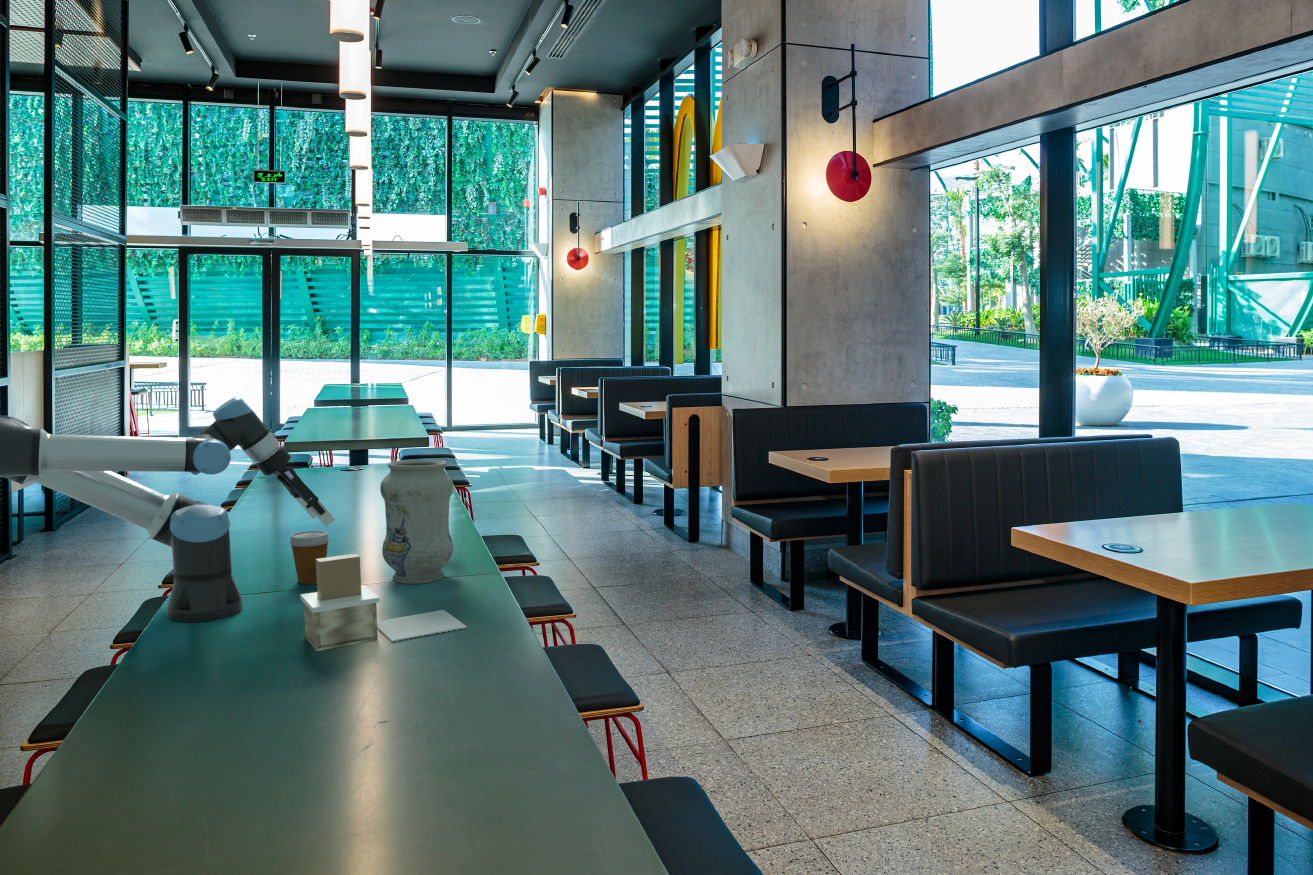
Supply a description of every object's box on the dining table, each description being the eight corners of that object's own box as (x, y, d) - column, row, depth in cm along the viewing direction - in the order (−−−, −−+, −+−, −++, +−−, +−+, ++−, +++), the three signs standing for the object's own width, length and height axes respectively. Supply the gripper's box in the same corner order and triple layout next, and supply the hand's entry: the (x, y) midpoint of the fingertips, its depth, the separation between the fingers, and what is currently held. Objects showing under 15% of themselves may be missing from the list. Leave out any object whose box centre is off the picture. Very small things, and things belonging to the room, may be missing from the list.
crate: (316, 651, 181) (315, 611, 180) (305, 637, 190) (303, 599, 189) (377, 639, 188) (376, 601, 187) (364, 626, 196) (362, 590, 195)
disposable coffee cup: (318, 586, 227) (315, 539, 225) (283, 584, 229) (281, 537, 227) (338, 576, 236) (336, 531, 235) (305, 574, 238) (303, 529, 236)
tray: (392, 642, 186) (391, 640, 186) (372, 623, 198) (372, 622, 198) (466, 628, 195) (466, 626, 195) (443, 611, 207) (443, 609, 207)
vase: (427, 564, 248) (423, 454, 244) (470, 575, 237) (467, 460, 233) (369, 578, 234) (364, 462, 231) (411, 591, 223) (407, 469, 219)
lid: (313, 620, 180) (310, 568, 179) (300, 606, 189) (298, 556, 188) (379, 609, 187) (377, 558, 186) (364, 596, 196) (362, 548, 195)
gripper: (292, 448, 214) (349, 516, 222) (270, 440, 235) (323, 502, 243) (265, 469, 211) (323, 537, 219) (245, 459, 232) (300, 521, 240)
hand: (323, 519), depth 231 cm, fingers open, 13 cm apart
